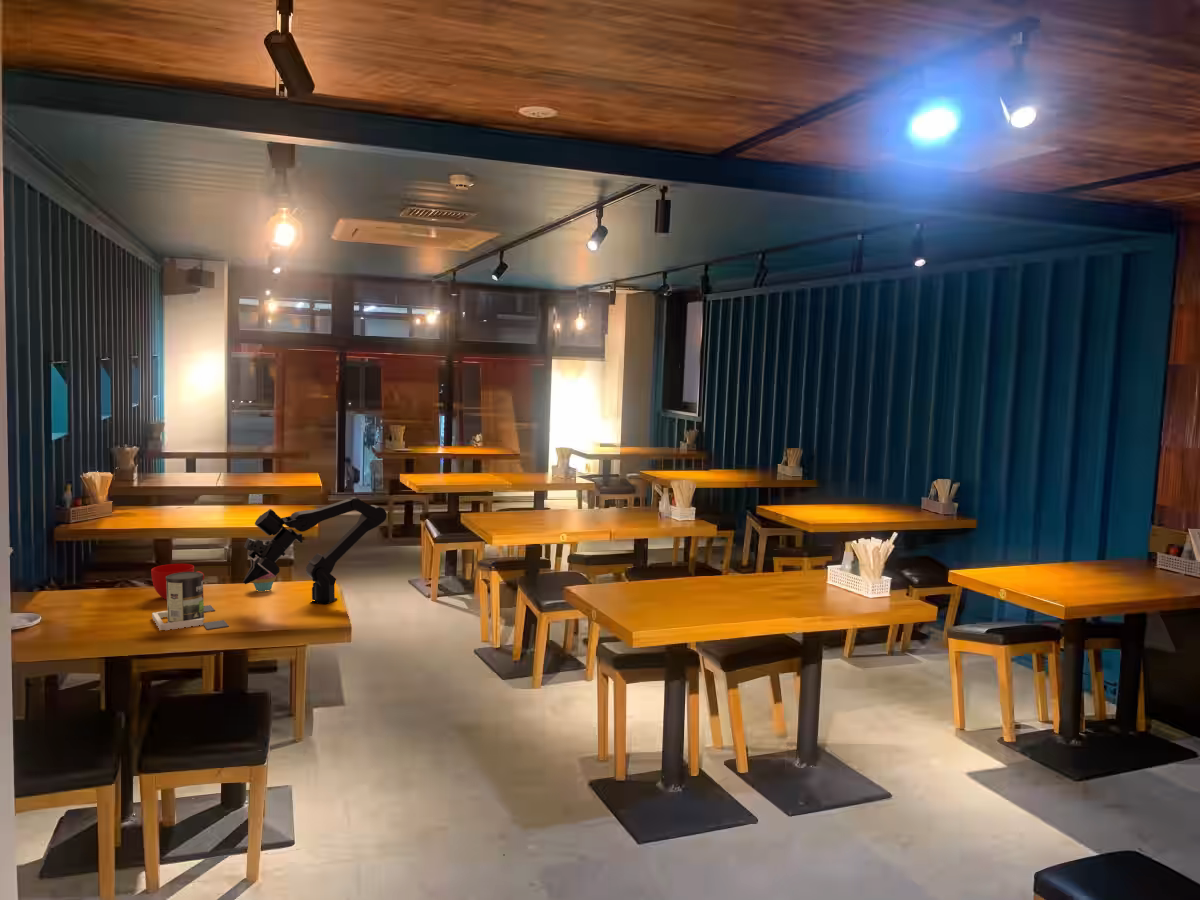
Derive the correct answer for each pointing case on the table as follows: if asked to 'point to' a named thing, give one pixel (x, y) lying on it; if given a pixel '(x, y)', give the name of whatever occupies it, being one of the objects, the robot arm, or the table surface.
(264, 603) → the table surface
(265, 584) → the cupcake
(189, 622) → the dock
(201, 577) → the coffee can
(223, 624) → the pair of grey pads
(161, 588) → the ceramic cup
